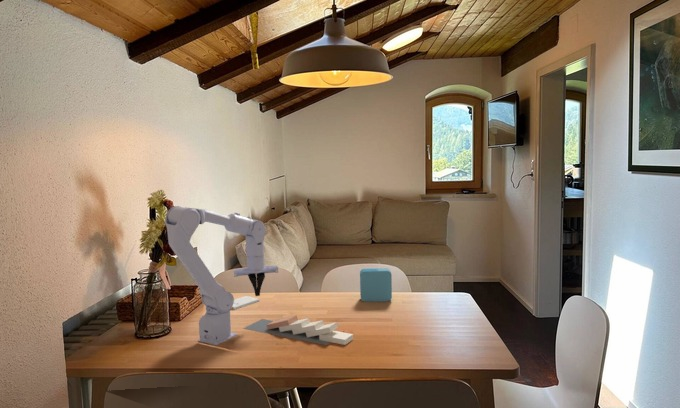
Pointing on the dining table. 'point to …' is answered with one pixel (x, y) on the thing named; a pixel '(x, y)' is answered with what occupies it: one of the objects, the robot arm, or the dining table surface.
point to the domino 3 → (309, 327)
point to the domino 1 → (282, 322)
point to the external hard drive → (244, 302)
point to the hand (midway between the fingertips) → (257, 295)
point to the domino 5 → (336, 337)
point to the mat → (262, 327)
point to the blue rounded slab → (375, 285)
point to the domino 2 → (295, 325)
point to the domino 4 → (323, 330)
